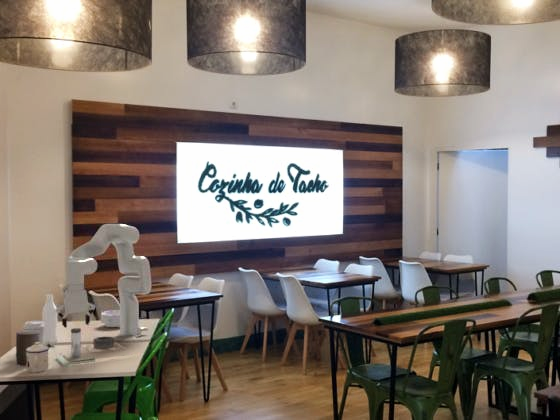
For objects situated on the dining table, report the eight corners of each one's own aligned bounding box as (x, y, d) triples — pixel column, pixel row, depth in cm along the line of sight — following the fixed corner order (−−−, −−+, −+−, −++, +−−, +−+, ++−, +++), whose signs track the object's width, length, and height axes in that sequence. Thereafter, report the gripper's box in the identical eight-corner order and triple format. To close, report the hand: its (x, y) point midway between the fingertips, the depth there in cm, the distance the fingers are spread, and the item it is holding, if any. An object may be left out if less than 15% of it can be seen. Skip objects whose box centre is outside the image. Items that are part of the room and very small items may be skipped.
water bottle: (52, 347, 314) (52, 296, 314) (39, 346, 316) (38, 295, 315) (60, 343, 321) (60, 293, 321) (47, 343, 323) (47, 293, 322)
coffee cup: (23, 353, 302) (22, 321, 302) (44, 351, 306) (44, 319, 306) (23, 357, 293) (23, 325, 293) (46, 355, 297) (45, 323, 297)
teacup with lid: (27, 367, 276) (27, 340, 276) (49, 366, 279) (49, 339, 278) (23, 375, 265) (23, 347, 264) (47, 373, 267) (47, 345, 267)
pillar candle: (16, 366, 279) (16, 331, 278) (15, 361, 288) (15, 327, 287) (40, 364, 282) (40, 330, 282) (39, 359, 291) (39, 326, 291)
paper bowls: (118, 329, 355) (118, 315, 355) (95, 327, 361) (95, 313, 361) (134, 324, 369) (134, 310, 369) (111, 322, 375) (111, 309, 375)
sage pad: (87, 355, 298) (87, 352, 298) (95, 361, 286) (95, 359, 286) (56, 359, 291) (56, 356, 291) (63, 365, 279) (63, 363, 279)
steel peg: (81, 358, 288) (81, 329, 288) (72, 359, 286) (72, 330, 286) (79, 356, 291) (79, 327, 291) (70, 357, 289) (70, 328, 289)
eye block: (115, 344, 319) (115, 333, 319) (125, 351, 305) (125, 339, 305) (82, 348, 311) (82, 337, 311) (91, 355, 297) (90, 343, 297)
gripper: (56, 290, 280) (58, 329, 281) (96, 287, 289) (97, 324, 290) (53, 288, 287) (54, 326, 288) (92, 284, 296) (93, 321, 296)
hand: (76, 325), depth 289 cm, fingers open, 9 cm apart
